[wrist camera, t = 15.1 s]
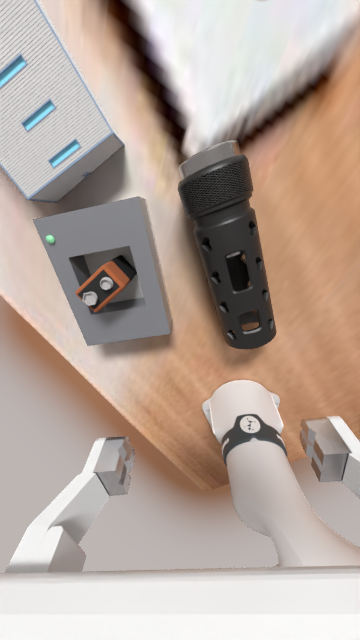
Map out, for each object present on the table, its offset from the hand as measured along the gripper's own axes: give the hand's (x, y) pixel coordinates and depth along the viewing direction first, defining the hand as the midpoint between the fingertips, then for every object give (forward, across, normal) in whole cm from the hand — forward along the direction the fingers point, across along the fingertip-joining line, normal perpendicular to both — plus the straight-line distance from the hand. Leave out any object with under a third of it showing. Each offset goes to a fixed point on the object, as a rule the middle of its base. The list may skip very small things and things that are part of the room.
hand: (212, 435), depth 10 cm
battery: (+32, +14, -2) cm, 35 cm away
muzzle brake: (+34, -6, -2) cm, 34 cm away
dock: (+33, +14, -2) cm, 36 cm away
